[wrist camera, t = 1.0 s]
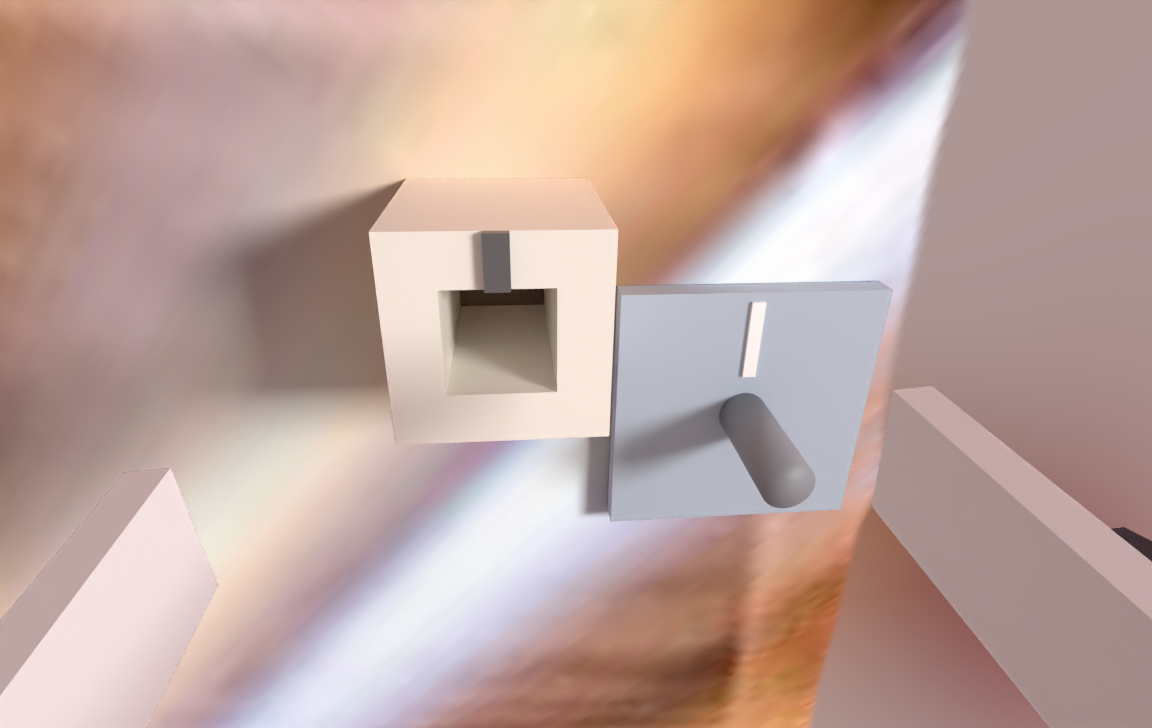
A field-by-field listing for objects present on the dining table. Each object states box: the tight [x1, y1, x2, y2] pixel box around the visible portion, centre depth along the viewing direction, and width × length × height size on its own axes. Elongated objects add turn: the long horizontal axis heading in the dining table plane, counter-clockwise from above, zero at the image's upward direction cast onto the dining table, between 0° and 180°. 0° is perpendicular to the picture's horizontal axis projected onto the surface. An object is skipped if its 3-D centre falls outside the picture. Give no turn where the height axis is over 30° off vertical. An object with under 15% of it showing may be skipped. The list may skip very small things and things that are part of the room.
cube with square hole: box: [369, 178, 618, 445], centre depth 24 cm, size 7×7×8 cm
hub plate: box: [607, 281, 893, 521], centre depth 29 cm, size 12×12×7 cm
